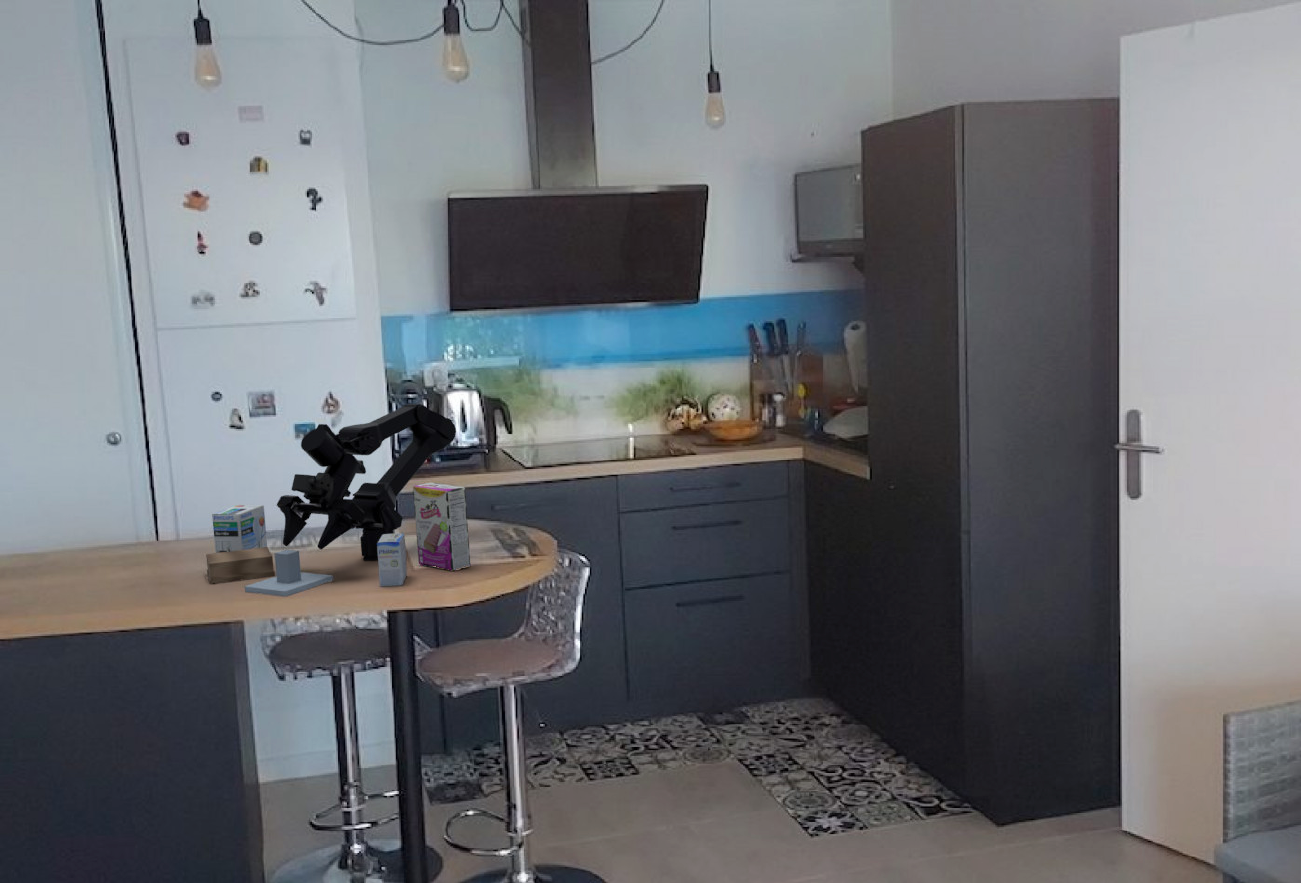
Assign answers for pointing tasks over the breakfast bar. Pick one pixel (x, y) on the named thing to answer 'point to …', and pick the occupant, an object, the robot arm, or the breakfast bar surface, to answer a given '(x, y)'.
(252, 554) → the walnut box
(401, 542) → the medicine box
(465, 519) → the candy bar box
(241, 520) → the light bulb box
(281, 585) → the lid
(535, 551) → the breakfast bar surface
